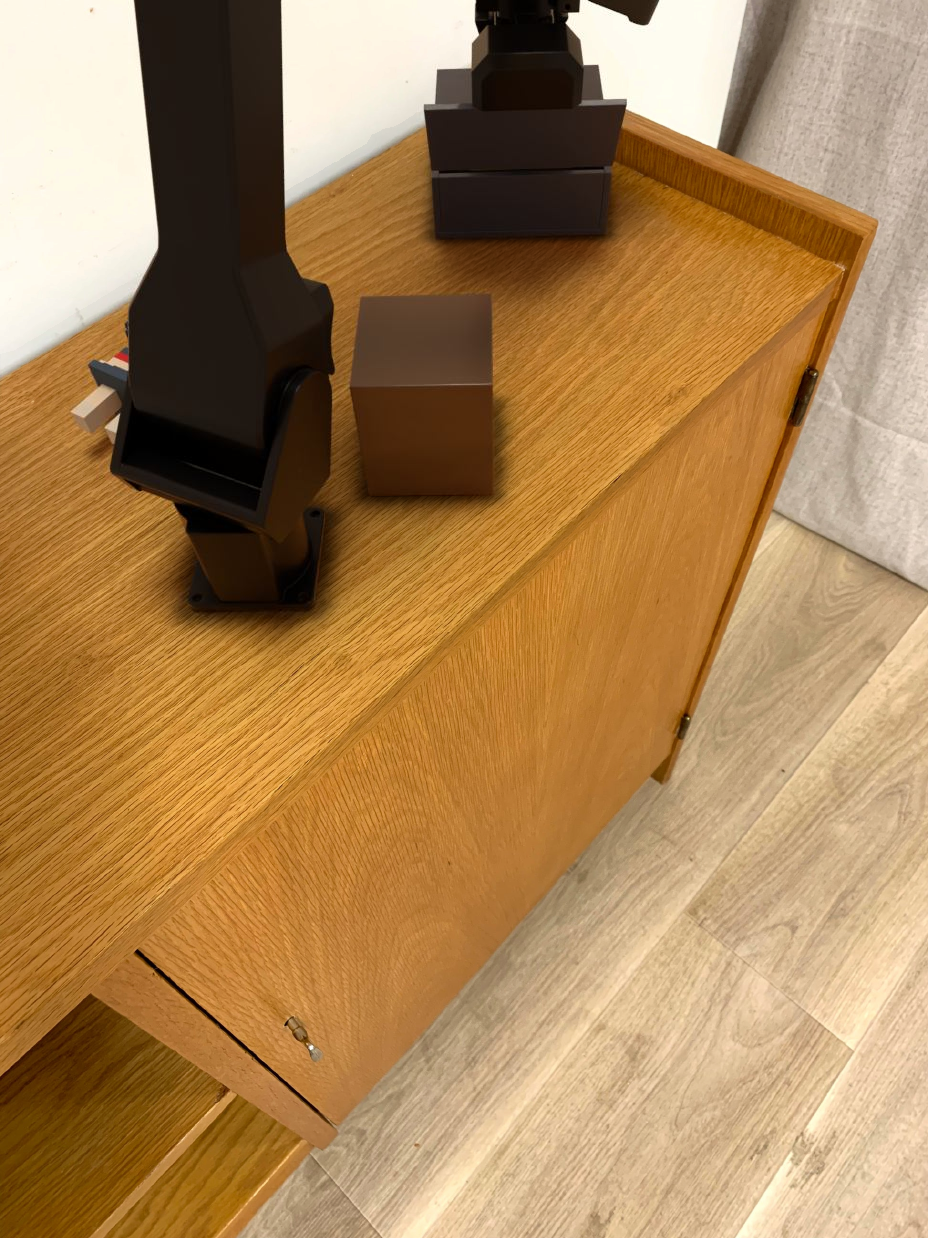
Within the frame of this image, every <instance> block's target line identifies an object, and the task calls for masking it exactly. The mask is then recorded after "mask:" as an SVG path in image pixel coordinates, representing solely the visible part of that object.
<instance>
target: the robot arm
mask: <svg viewBox="0 0 928 1238" xmlns="http://www.w3.org/2000/svg"><path fill="white" fill-rule="evenodd" d="M587 1H588V2H590V3H592V4H594V5H597V6H599V7H602V8H605V9H607V10H609V11H613V12H615V13H616V14H620V15H622V16H625V17H627V19H628V21H629V22H630V23H631V24H635V25H638V26H642V27H644V26H648V25H650V22H651V20H652V18H653V16H654V14H655V11H656V9H657V7H658V4H659V3H660V0H587ZM133 8H134V17H135V26H136V37H137V45H138V46H137V47H138V54H139V55H138V56H139V64H140V65H139V66H140V74H141V83H142V84H141V85H142V94H143V102H144V103H143V105H144V113H145V123H146V131H147V143H148V151H149V161H150V171H151V172H150V173H151V179H152V190H153V200H154V208H155V209H154V210H155V218H156V227H157V249H156V250H155V253H154V255H153V256H152V259H151V261H150V263H149V264H148V266H147V269H146V271H145V272H144V274H143V276H142V278H141V281H140V282H139V284H138V286H137V288H136V290H135V292H134V294H133V296H132V298H131V300H130V302H129V304H128V307H127V318H128V319H127V321H128V338H127V348H128V375H127V380H126V385H125V390H124V396H123V401H122V406H121V411H120V416H119V422H118V427H117V432H116V437H115V442H114V444H113V447H112V448H113V449H112V452H111V453H112V454H111V458H110V464H109V472H110V474H111V475H113V477H115V478H116V479H118V480H119V481H121V483H123V484H125V485H126V487H128V488H129V489H131V490H135V491H138V492H140V493H141V492H145V493H148V494H151V495H153V496H156V497H158V498H160V499H161V498H162V499H164V500H167V501H169V502H173V506H174V508H175V510H176V512H177V514H178V517H179V518H180V521H181V523H182V525H183V528H184V531H185V534H186V536H187V538H188V540H189V542H190V544H191V547H192V549H193V551H194V553H195V555H196V560H195V565H194V570H193V573H192V578H191V581H190V587H189V592H188V596H187V602H188V604H189V606H190V607H191V609H192V610H194V611H253V610H254V611H267V610H268V611H269V610H273V611H274V610H275V611H277V610H279V611H280V610H284V611H285V610H308V609H310V608H312V607H313V606H314V605H315V602H316V595H317V588H318V581H319V573H320V565H321V559H322V549H323V542H324V533H325V525H326V515H325V511H324V509H323V508H321V507H318V506H310V504H311V503H312V502H313V500H314V499H315V498H316V496H317V495H318V493H319V492H320V491H321V489H322V488H323V487H324V485H325V484H326V483H327V481H328V480H329V478H330V475H331V461H332V431H333V430H332V429H333V427H332V425H333V424H332V423H333V389H332V388H333V387H332V384H331V381H330V376H333V375H334V374H335V372H336V367H335V363H334V357H333V350H332V336H333V335H332V333H333V325H334V323H333V322H334V313H335V312H334V311H335V303H334V300H333V297H332V294H331V291H330V287H329V286H328V284H327V283H324V282H321V281H317V280H313V279H309V278H306V277H303V276H301V274H300V272H299V270H298V268H297V265H295V263H294V261H293V259H292V257H291V255H290V254H289V252H288V247H287V246H288V245H287V238H286V192H285V191H286V189H285V187H286V186H285V185H286V184H285V137H284V136H285V135H284V134H285V131H284V130H285V129H284V125H285V124H284V79H283V78H284V77H283V75H284V74H283V72H284V71H283V69H284V68H283V23H282V18H283V17H282V16H283V15H282V14H283V13H282V0H133ZM580 9H581V0H475V3H474V24H475V27H476V30H477V33H478V35H477V37H475V39H474V40H472V42H471V64H470V65H471V66H470V68H471V79H472V107H474V108H476V109H478V110H480V111H516V110H552V109H573V108H575V107H576V106H578V105H580V104H582V90H583V77H584V65H585V64H584V57H583V49H582V41H581V38H579V36H578V35H577V34H576V33H575V32H574V31H573V29H572V28H570V26H569V25H568V24H567V22H568V20H569V17H570V16H569V14H575V13H578V14H579V13H580ZM315 516H316V517H315ZM304 598H307V599H306V600H303V599H304ZM199 599H200V600H199ZM197 600H199V601H197Z"/></svg>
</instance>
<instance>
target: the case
mask: <svg viewBox="0 0 928 1238" xmlns="http://www.w3.org/2000/svg"><path fill="white" fill-rule="evenodd" d="M434 95H435V96H434V104H454V103H472V79H471V67H469V68H465V67H463V68H437V69H436V79H435V94H434ZM600 99H604V92H603V87H602V79H601V71H600V66H599V64H584V77H583V90H582V100H600ZM430 176H431V177H430V179H431V193H432V195H431V197H432V209H433V225H434V226H433V227H434V238H435V239H475V238H477V239H478V238H479V239H480V238H516V237H517V238H518V237H519V238H520V237H522V238H523V237H564V236H567V237H569V236H605V235H606V232H607V222H608V216H609V215H608V213H609V204H610V197H611V188H612V187H611V186H612V176H613V170H612V166H605V167H573V168H546V169H512V170H478V171H471V170H444V171H431V175H430Z"/></svg>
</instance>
